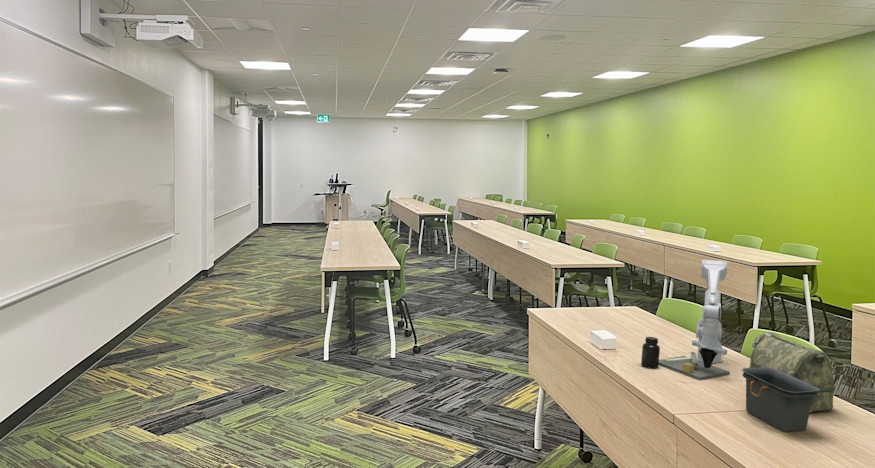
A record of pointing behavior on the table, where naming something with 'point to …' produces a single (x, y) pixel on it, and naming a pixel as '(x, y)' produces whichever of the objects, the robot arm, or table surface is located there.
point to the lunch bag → (796, 365)
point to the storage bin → (778, 398)
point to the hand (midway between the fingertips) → (707, 367)
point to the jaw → (694, 360)
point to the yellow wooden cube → (688, 367)
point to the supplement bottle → (650, 353)
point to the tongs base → (699, 371)
